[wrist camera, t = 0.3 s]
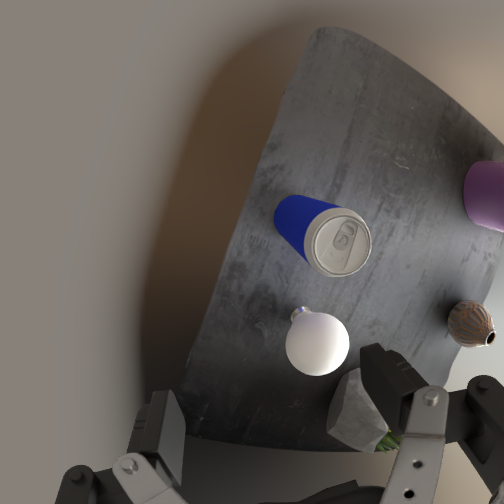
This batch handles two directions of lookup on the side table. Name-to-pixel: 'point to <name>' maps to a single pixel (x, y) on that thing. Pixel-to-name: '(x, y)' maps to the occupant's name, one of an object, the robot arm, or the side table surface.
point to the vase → (471, 324)
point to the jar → (485, 194)
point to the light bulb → (316, 342)
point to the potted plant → (357, 417)
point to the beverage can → (324, 234)
